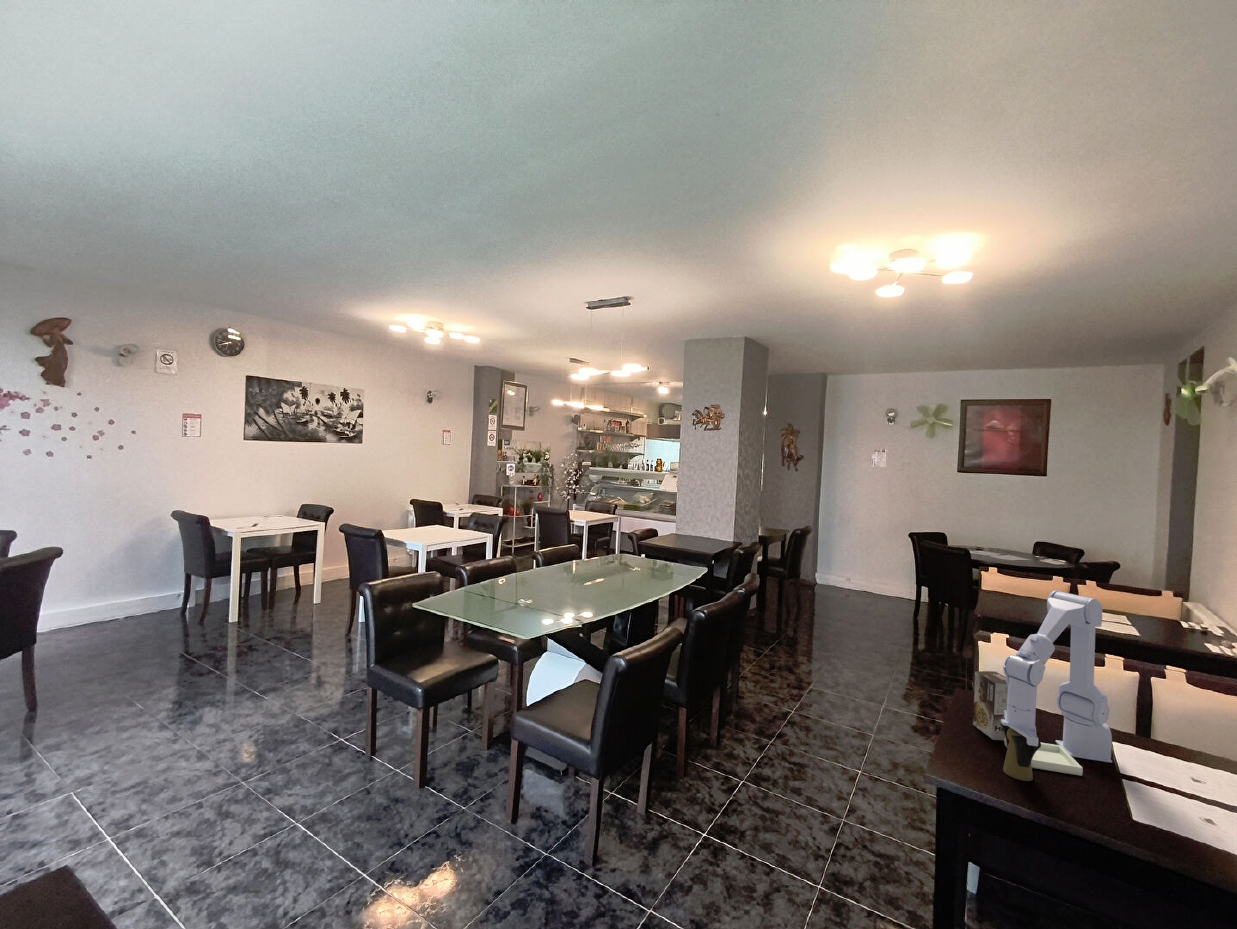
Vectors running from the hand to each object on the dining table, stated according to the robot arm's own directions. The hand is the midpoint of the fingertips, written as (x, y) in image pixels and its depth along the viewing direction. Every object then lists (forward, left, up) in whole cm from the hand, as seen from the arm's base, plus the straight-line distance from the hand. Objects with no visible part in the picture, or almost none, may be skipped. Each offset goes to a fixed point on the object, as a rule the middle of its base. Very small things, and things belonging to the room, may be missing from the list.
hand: (1018, 760), depth 136 cm
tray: (-9, -10, -3) cm, 14 cm away
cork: (0, 0, -4) cm, 4 cm away
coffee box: (-2, -22, -4) cm, 22 cm away
